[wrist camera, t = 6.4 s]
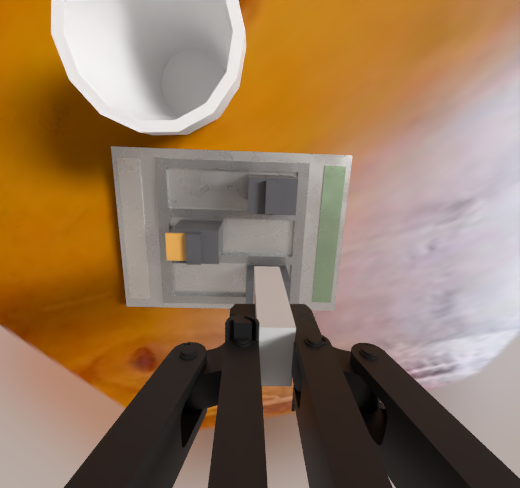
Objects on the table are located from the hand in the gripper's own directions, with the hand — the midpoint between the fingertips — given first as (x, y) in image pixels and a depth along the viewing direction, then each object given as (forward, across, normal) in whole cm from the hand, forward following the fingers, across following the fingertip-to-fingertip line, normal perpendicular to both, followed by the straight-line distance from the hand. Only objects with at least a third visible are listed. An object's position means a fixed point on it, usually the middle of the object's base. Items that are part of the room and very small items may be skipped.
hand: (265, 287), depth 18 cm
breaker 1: (+12, -6, 0) cm, 13 cm away
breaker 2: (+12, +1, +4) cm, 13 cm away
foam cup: (+14, -6, +13) cm, 20 cm away
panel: (+14, -3, 0) cm, 14 cm away
